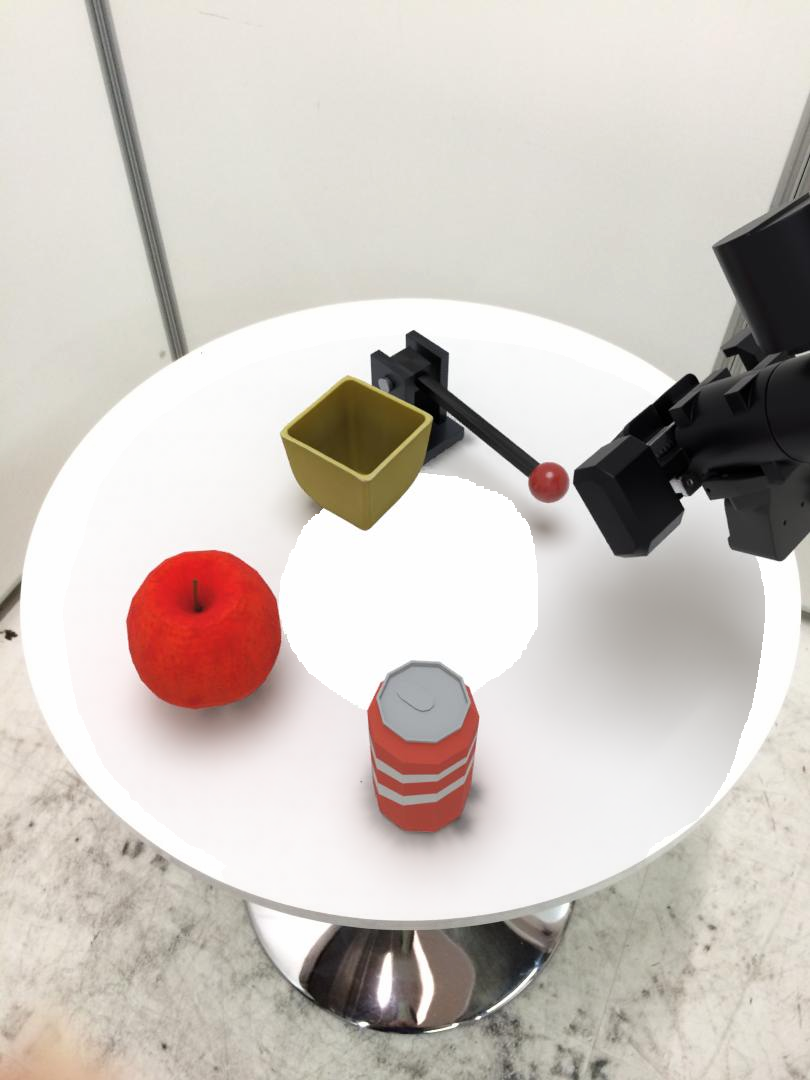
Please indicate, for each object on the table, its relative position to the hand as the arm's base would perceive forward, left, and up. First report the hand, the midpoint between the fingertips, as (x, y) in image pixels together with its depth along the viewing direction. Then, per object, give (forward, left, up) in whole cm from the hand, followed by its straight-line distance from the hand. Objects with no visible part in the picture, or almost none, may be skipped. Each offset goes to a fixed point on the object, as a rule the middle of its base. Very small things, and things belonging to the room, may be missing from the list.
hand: (607, 455), depth 61 cm
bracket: (+17, -11, -12) cm, 23 cm away
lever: (+11, -7, -7) cm, 14 cm away
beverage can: (+7, +22, -12) cm, 26 cm away
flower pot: (+19, -1, -12) cm, 22 cm away
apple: (+23, +18, -12) cm, 32 cm away
